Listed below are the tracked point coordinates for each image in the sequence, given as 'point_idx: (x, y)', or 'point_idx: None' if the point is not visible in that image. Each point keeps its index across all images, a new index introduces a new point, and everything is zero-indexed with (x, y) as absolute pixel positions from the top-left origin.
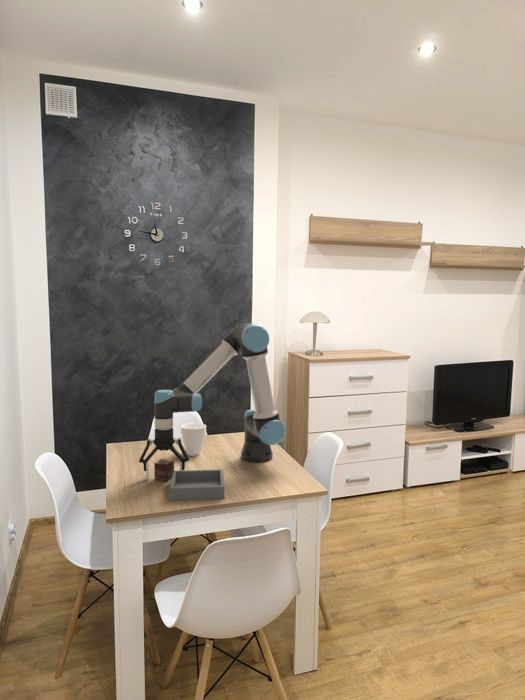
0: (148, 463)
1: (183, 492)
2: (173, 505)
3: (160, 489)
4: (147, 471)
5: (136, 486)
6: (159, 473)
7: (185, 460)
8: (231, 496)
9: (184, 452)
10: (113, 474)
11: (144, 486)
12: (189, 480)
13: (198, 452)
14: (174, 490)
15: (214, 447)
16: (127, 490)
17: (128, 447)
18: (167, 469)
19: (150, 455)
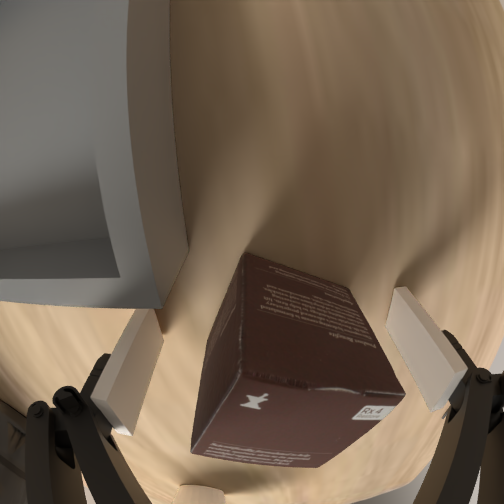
0: (441, 391)
1: None
2: None
3: (278, 64)
4: (428, 325)
5: (460, 167)
6: (327, 310)
7: (61, 417)
8: None
9: (30, 482)
10: (498, 344)
11: (417, 156)
12: (66, 243)
13: (180, 491)
14: None
15: (159, 496)
16: (490, 106)
17: (384, 486)
18: (237, 326)
19: (471, 456)
